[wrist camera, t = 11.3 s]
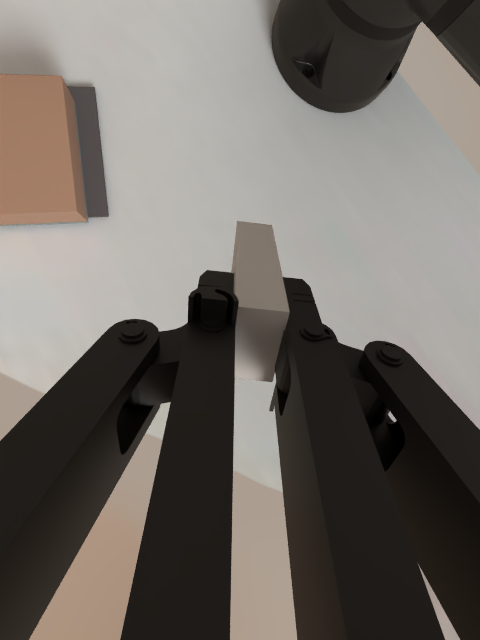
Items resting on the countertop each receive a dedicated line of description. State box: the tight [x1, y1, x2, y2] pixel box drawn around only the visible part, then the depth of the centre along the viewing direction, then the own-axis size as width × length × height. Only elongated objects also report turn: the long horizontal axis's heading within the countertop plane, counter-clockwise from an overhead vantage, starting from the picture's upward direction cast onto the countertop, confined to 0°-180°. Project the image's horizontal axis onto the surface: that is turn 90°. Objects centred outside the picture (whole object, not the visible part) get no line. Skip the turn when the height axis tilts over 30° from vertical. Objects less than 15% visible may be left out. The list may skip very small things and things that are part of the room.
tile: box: [0, 74, 88, 226], centre depth 32 cm, size 4×10×12 cm
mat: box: [68, 87, 109, 217], centre depth 34 cm, size 13×14×1 cm
